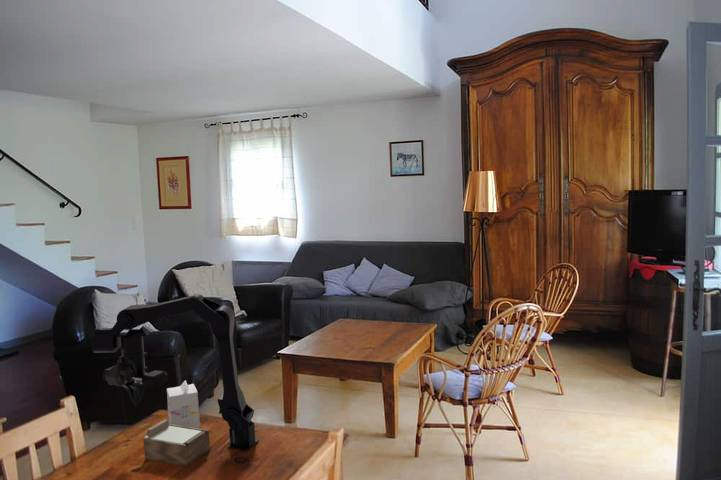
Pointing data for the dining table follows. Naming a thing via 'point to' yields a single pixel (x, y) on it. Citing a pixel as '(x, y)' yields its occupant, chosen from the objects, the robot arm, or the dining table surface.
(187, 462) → the walnut box
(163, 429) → the lid
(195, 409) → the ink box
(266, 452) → the dining table surface
